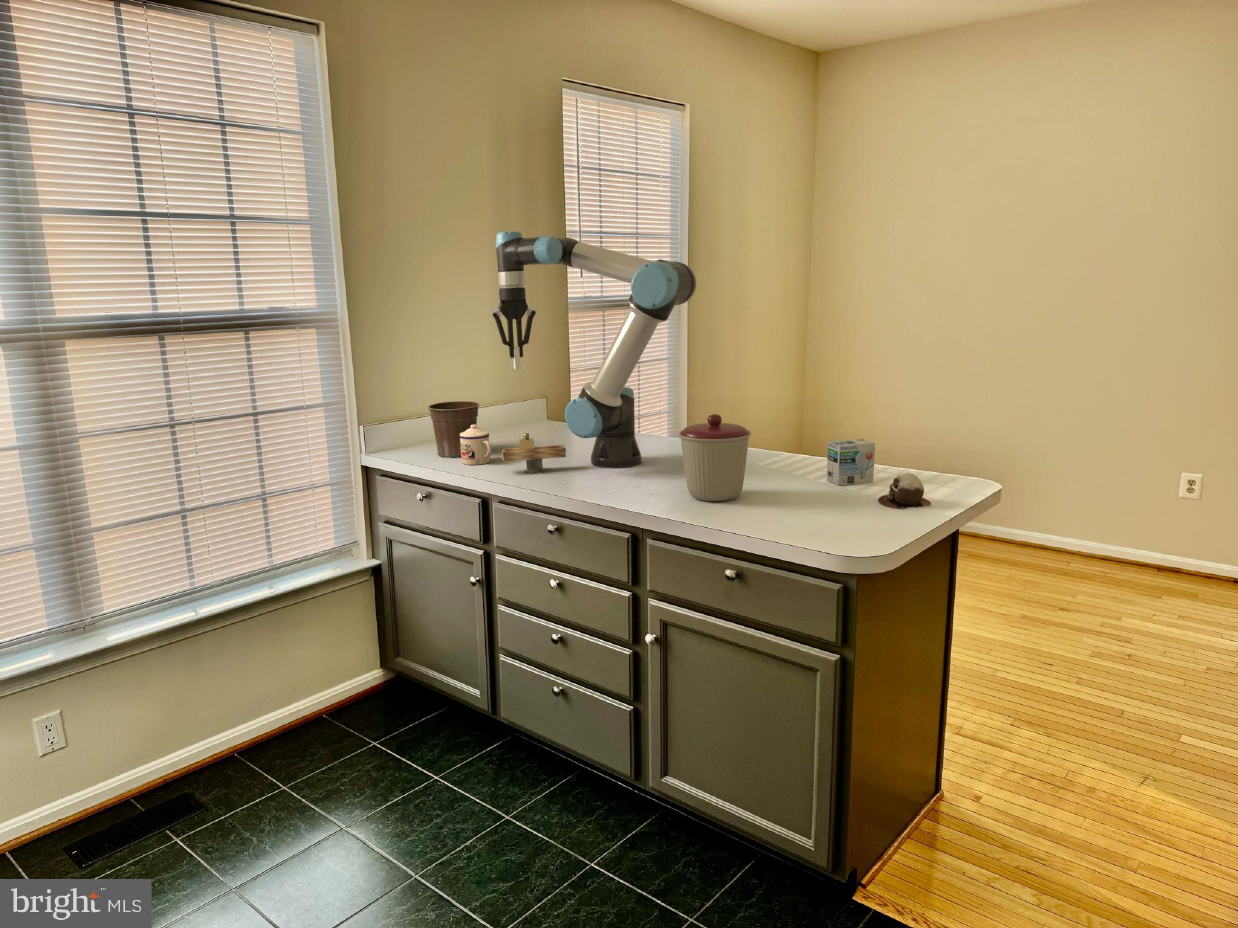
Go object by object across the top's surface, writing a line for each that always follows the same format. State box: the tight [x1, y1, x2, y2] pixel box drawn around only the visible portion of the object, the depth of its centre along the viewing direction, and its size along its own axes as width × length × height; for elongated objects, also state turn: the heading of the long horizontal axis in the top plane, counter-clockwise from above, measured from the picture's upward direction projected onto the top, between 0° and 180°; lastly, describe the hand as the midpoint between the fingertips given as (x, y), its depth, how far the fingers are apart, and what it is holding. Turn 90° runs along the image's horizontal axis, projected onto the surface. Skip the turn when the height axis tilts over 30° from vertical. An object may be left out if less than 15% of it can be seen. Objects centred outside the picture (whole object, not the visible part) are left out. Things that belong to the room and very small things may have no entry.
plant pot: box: [427, 400, 480, 459], centre depth 283 cm, size 16×16×16 cm
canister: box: [677, 413, 752, 502], centre depth 220 cm, size 18×18×21 cm
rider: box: [518, 432, 535, 451], centre depth 255 cm, size 4×3×6 cm
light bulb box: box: [826, 438, 876, 486], centre depth 233 cm, size 11×7×11 cm, turn 105°
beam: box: [501, 444, 567, 474], centre depth 256 cm, size 18×6×7 cm, turn 103°
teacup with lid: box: [459, 425, 492, 466], centre depth 269 cm, size 12×9×12 cm
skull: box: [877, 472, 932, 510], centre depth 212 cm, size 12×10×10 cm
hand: (517, 368), depth 259 cm, fingers closed
